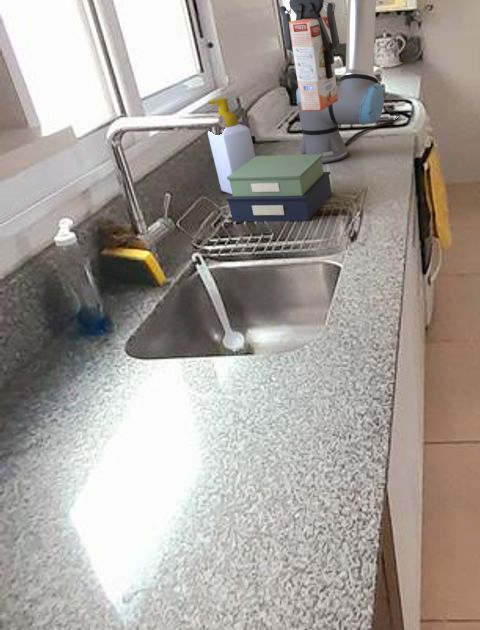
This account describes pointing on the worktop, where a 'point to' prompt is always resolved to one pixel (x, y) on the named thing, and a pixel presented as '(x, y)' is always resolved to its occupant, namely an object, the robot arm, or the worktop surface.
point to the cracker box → (312, 65)
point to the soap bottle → (230, 145)
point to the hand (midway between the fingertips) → (317, 78)
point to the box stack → (279, 188)
